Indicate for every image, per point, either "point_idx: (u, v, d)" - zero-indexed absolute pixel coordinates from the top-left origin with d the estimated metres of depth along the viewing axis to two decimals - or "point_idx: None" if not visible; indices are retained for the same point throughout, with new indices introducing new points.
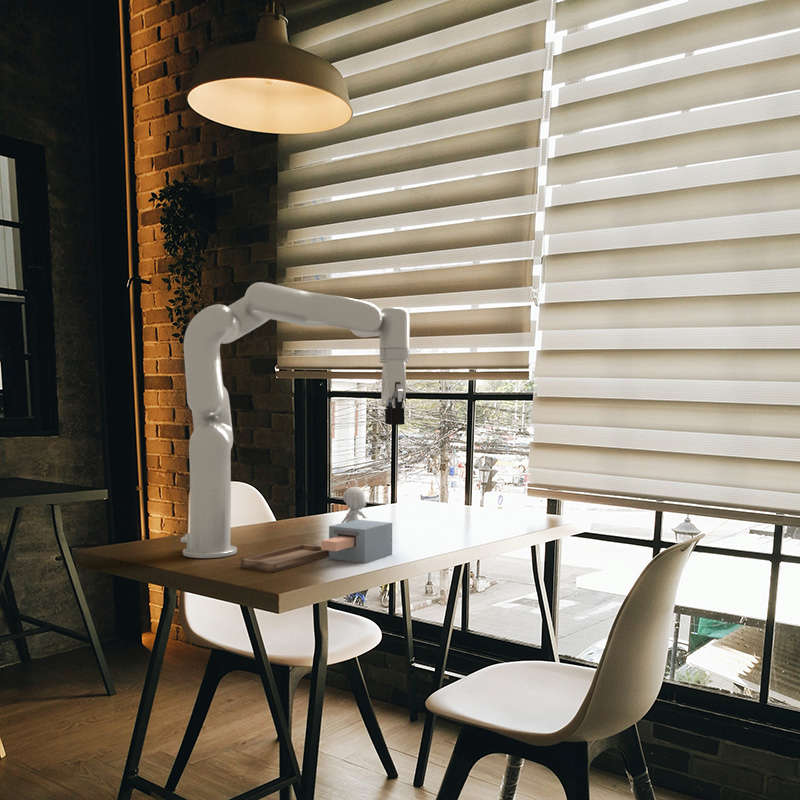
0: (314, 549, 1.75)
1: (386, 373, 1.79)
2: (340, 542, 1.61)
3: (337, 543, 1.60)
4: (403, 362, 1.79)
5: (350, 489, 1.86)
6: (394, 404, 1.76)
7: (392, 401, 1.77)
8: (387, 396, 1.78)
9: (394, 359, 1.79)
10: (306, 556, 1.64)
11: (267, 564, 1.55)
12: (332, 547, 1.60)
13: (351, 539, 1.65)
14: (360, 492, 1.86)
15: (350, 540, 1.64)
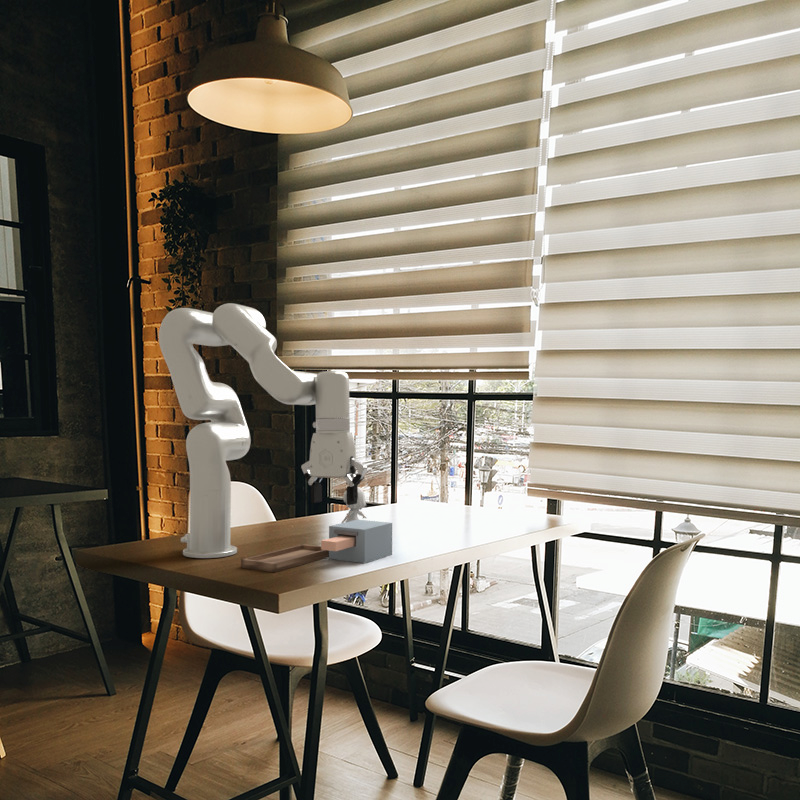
0: (314, 549, 1.75)
1: (339, 447, 1.58)
2: (340, 542, 1.61)
3: (337, 543, 1.60)
4: (351, 434, 1.61)
5: None
6: (353, 482, 1.58)
7: (348, 478, 1.58)
8: (344, 473, 1.57)
9: (344, 430, 1.60)
10: (306, 556, 1.64)
11: (267, 564, 1.55)
12: (332, 547, 1.60)
13: (351, 539, 1.65)
14: (360, 492, 1.86)
15: (350, 540, 1.64)
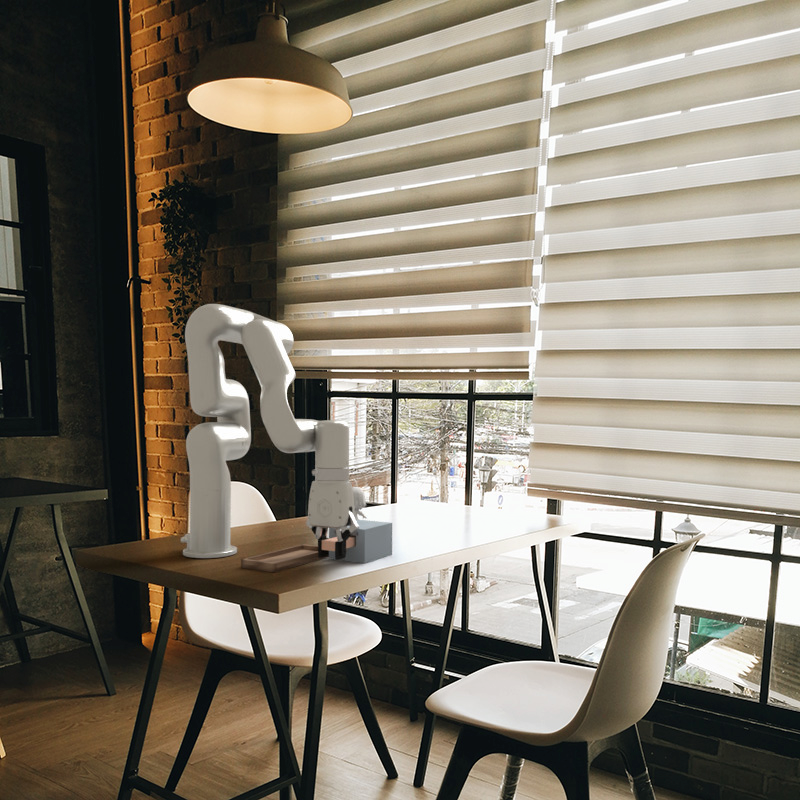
0: (314, 549, 1.75)
1: (338, 497, 1.58)
2: None
3: None
4: None
5: None
6: (342, 538, 1.59)
7: (340, 533, 1.59)
8: (342, 524, 1.57)
9: (344, 480, 1.59)
10: (306, 556, 1.64)
11: (267, 564, 1.55)
12: (332, 547, 1.60)
13: (351, 539, 1.65)
14: (360, 492, 1.86)
15: (350, 540, 1.64)
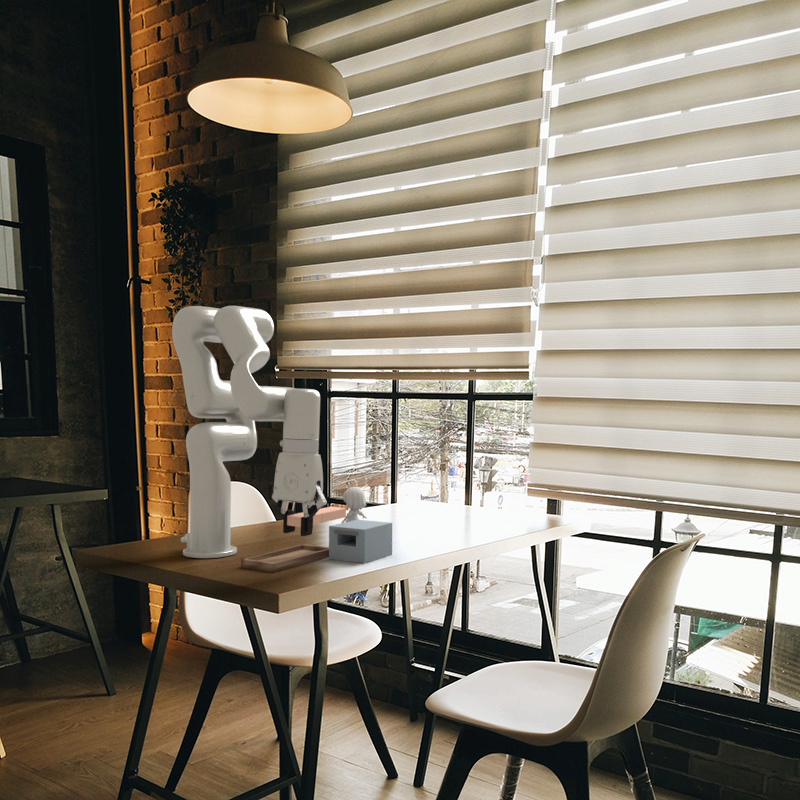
0: (314, 549, 1.75)
1: (305, 470, 1.49)
2: None
3: None
4: (320, 456, 1.52)
5: (350, 489, 1.86)
6: (309, 514, 1.50)
7: (306, 508, 1.50)
8: (308, 498, 1.48)
9: (312, 453, 1.50)
10: (306, 556, 1.64)
11: (267, 564, 1.55)
12: (298, 523, 1.51)
13: (319, 515, 1.56)
14: (360, 492, 1.86)
15: (318, 516, 1.56)
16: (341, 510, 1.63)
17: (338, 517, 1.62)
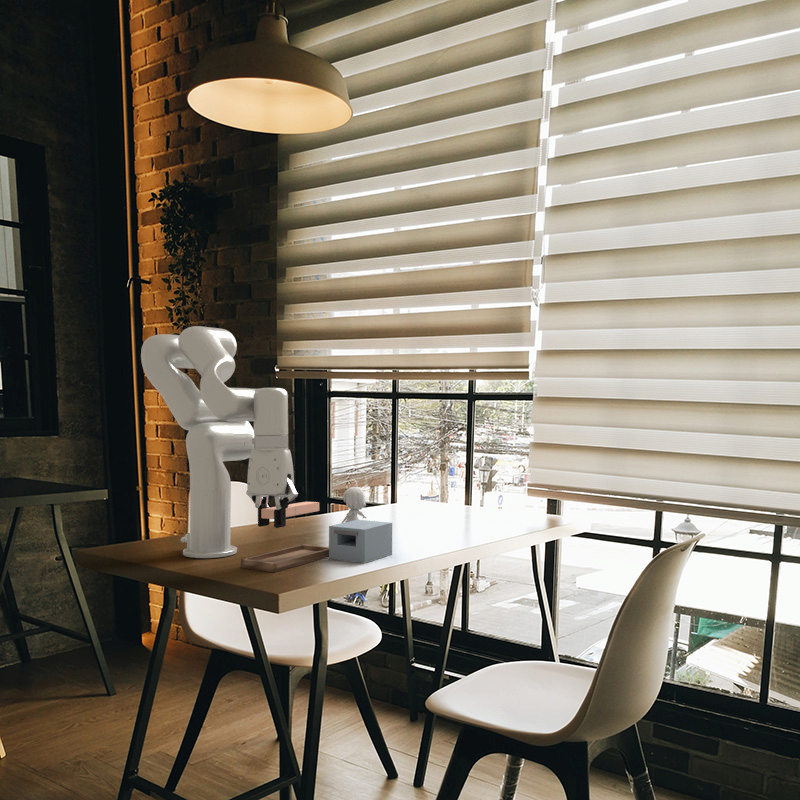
0: (314, 549, 1.75)
1: (275, 464, 1.56)
2: None
3: None
4: None
5: (350, 489, 1.86)
6: (281, 506, 1.57)
7: (278, 501, 1.57)
8: (280, 491, 1.56)
9: (282, 448, 1.58)
10: (306, 556, 1.64)
11: (267, 564, 1.55)
12: (271, 515, 1.58)
13: (292, 508, 1.63)
14: (360, 492, 1.86)
15: (291, 509, 1.63)
16: (314, 504, 1.70)
17: (311, 510, 1.69)
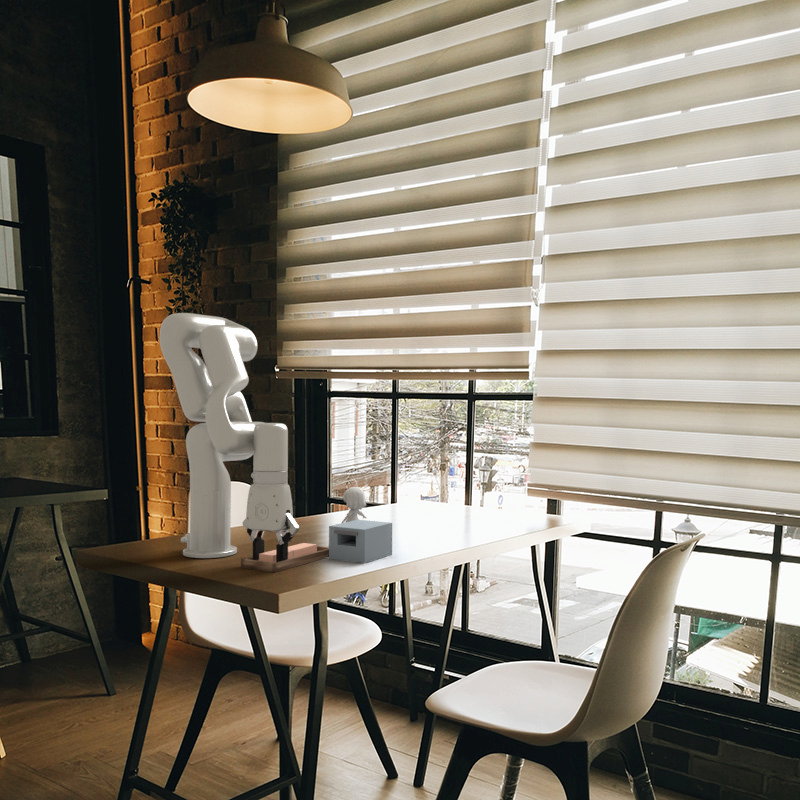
0: None
1: (274, 500, 1.56)
2: None
3: (274, 556, 1.59)
4: (289, 486, 1.60)
5: (350, 489, 1.86)
6: (283, 540, 1.57)
7: (280, 536, 1.57)
8: (279, 527, 1.56)
9: (281, 484, 1.58)
10: (306, 556, 1.64)
11: (267, 564, 1.55)
12: (269, 561, 1.58)
13: (290, 552, 1.63)
14: (360, 492, 1.86)
15: (289, 553, 1.63)
16: (312, 546, 1.70)
17: (309, 553, 1.69)
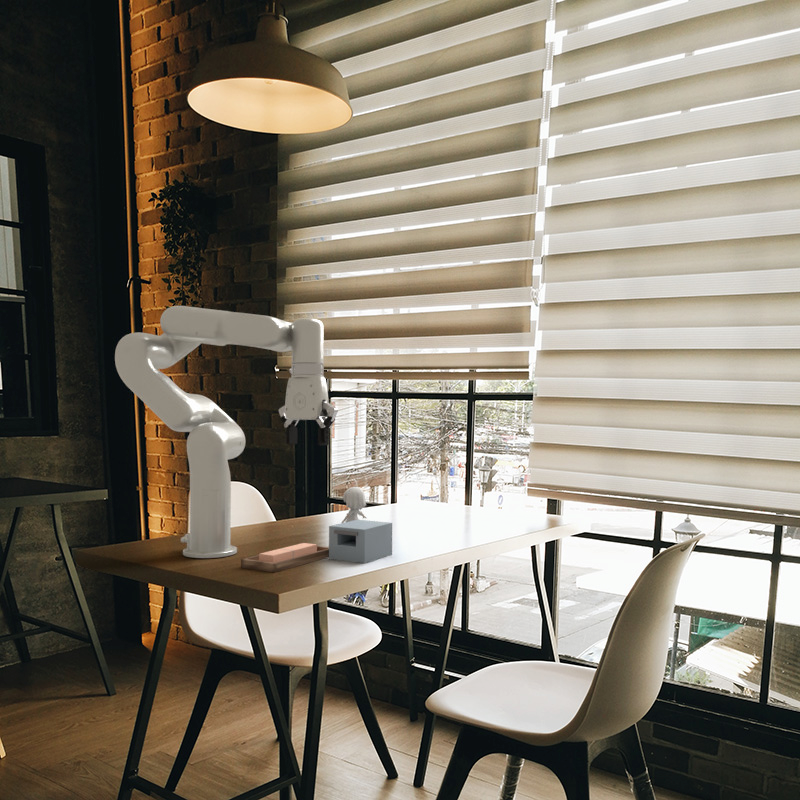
0: None
1: (311, 390, 1.66)
2: (278, 555, 1.60)
3: (274, 556, 1.59)
4: (325, 379, 1.69)
5: (350, 489, 1.86)
6: (324, 423, 1.66)
7: (320, 420, 1.66)
8: (315, 415, 1.65)
9: (317, 375, 1.68)
10: (306, 556, 1.64)
11: (267, 564, 1.55)
12: (269, 561, 1.58)
13: (290, 552, 1.63)
14: (360, 492, 1.86)
15: (289, 553, 1.63)
16: (312, 546, 1.70)
17: (309, 553, 1.69)
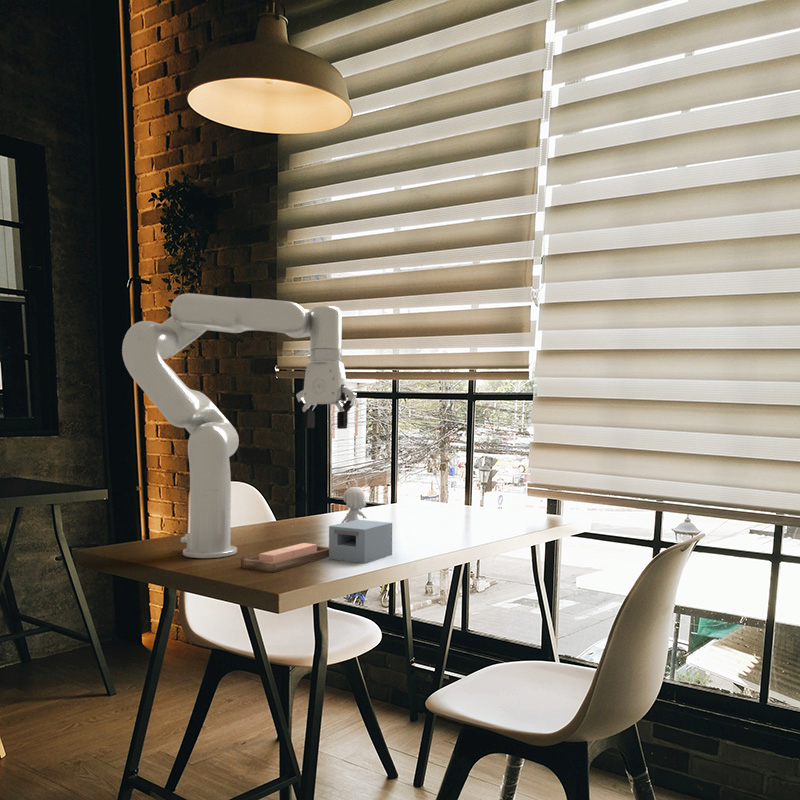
0: None
1: (331, 375, 1.71)
2: (278, 555, 1.60)
3: (274, 556, 1.59)
4: (343, 364, 1.75)
5: (350, 489, 1.86)
6: (343, 407, 1.71)
7: (339, 404, 1.71)
8: (335, 399, 1.71)
9: (336, 360, 1.73)
10: (306, 556, 1.64)
11: (267, 564, 1.55)
12: (269, 561, 1.58)
13: (290, 552, 1.63)
14: (360, 492, 1.86)
15: (289, 553, 1.63)
16: (312, 546, 1.70)
17: (309, 553, 1.69)
